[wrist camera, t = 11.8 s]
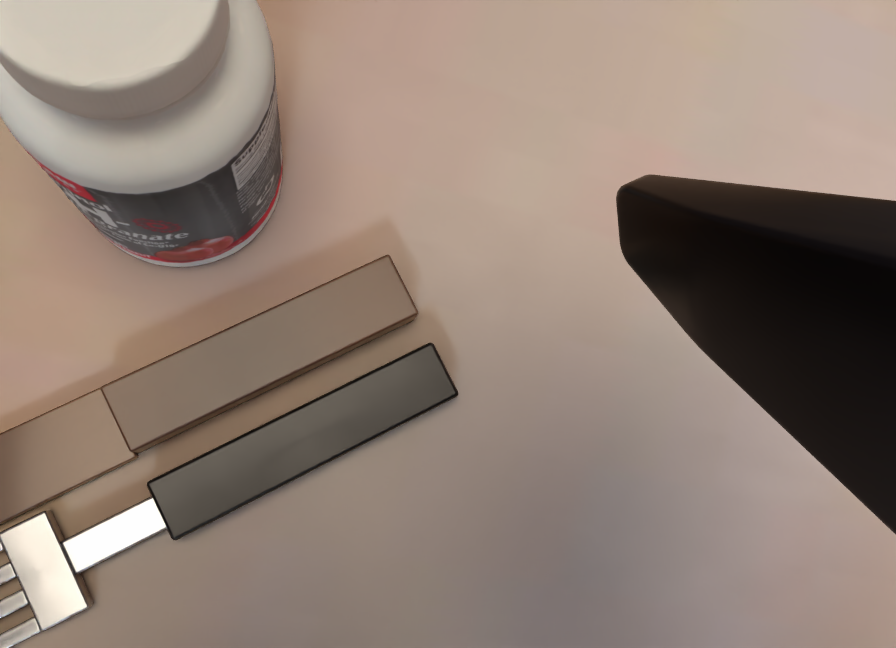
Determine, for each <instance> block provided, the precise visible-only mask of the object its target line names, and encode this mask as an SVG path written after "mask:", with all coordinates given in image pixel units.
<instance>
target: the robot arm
mask: <svg viewBox="0 0 896 648" xmlns="http://www.w3.org/2000/svg"><path fill="white" fill-rule="evenodd" d="M616 203H617V215H618V226H619V238H620V246H621V250H622V253H623V255H624V257H625V259H626V261H627V262H628V264H629V265H630V266H631V268H632V269H633V270H634V271H635V272H636V273H637V275H638V276H639V277H640V278H641V279H642V281H643V282H644V283H645V284H646V285H647V287H648V288H649V289H650V290H651V291H652V293H653V294H654V295H655V296H656V297H657V299H658V300H659V301H660V302H661V303H662V305H663V306H664V307H665V308H666V309H667V311H668V312H669V313H670V314H671V315H672V317H673V318H674V319H675V320H676V321H677V323H678V324H679V325H680V326H681V327H682V328H683V330H684V331H685V332H686V333H687V334H688V335H689V337H690V338H691V339H692V340H693V341H694V342H695V343H696V344H697V346H698V347H699V348H700V349H701V350H702V351H703V352H704V353H705V354H706V355H707V356H708V357H709V358H710V359H711V360H712V361H714V362H715V363H716V364H717V365H718V366H719V367H720V368H721V369H722V370H723V371H724V372H725V373H726V374H727V375H728V376H729V377H730V378H731V379H733V380H734V381H735V382H736V383H737V384H738V385H739V386H740V387H741V388H742V389H743V390H744V391H745V392H746V393H747V394H748V395H749V396H750V397H751V398H753V399H754V400H755V401H756V402H757V403H758V404H759V405H760V406H761V407H762V408H763V409H764V410H765V411H766V412H767V413H768V414H769V415H770V416H772V417H773V418H774V419H775V420H776V421H777V422H778V423H779V424H780V425H781V426H782V427H783V428H784V429H785V430H786V431H787V432H788V433H789V434H790V435H792V436H793V437H794V438H795V439H796V440H797V441H798V442H799V443H800V444H801V445H802V446H803V447H804V448H805V449H806V450H807V451H808V452H809V453H811V454H812V455H813V456H814V457H815V458H816V459H817V460H818V461H819V462H820V463H821V464H822V465H823V466H824V467H825V468H826V469H827V470H828V471H829V472H831V473H832V474H833V475H834V476H835V477H836V478H837V479H838V480H839V481H840V482H841V483H842V484H843V485H844V486H845V487H846V488H847V489H848V490H849V491H851V492H852V493H853V494H854V495H855V496H856V497H857V498H858V499H859V500H860V501H861V502H862V503H863V504H864V505H865V506H866V507H867V508H868V509H870V510H871V511H872V512H873V513H874V514H875V515H876V516H877V517H878V518H879V519H880V520H881V521H882V522H883V523H884V524H885V525H886V526H887V527H888V528H890V529H891V530H892V531H893V532H894V533H895V534H896V201H891V200H882V199H873V198H863V197H854V196H845V195H836V194H826V193H817V192H808V191H799V190H789V189H780V188H771V187H762V186H752V185H743V184H734V183H725V182H716V181H706V180H697V179H688V178H679V177H669V176H660V175H645V176H643V177H640V178H638V179H636V180H634V181H632V182H629V183H627V184H625V185H623V186H621V188H620V189H619V190H618V192H617V196H616Z"/></svg>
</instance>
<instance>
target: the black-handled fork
mask: <svg viewBox="0 0 896 648" xmlns="http://www.w3.org/2000/svg"><path fill="white" fill-rule="evenodd" d="M457 396H458V391H457V389H456V387H455V385H454V383H453V381H452V379H451V377H450V375H449V373H448V371H447V369H446V367H445V365H444V363H443V362H442V360H441V358H440V356H439V354H438V352H437V350H436V348H435V346H434V344H433V343H428V344H426V345H424V346H422V347H420V348H418V349H416V350H414V351H412V352H410V353H408V354H405V355H403V356H401V357H399V358H397V359H395V360H393V361H391V362H389V363H387V364H385V365H383V366H381V367H379V368H377V369H375V370H373V371H371V372H369V373H367V374H365V375H363V376H361V377H359V378H357V379H355V380H353V381H351V382H349V383H347V384H345V385H343V386H341V387H338V388H336V389H334V390H332V391H330V392H328V393H326V394H324V395H322V396H320V397H318V398H316V399H314V400H312V401H310V402H308V403H306V404H304V405H302V406H300V407H298V408H296V409H294V410H292V411H290V412H288V413H286V414H284V415H282V416H280V417H278V418H276V419H273V420H271V421H269V422H267V423H265V424H263V425H261V426H259V427H257V428H255V429H253V430H251V431H249V432H247V433H245V434H243V435H241V436H239V437H237V438H235V439H233V440H231V441H229V442H227V443H225V444H223V445H221V446H219V447H217V448H215V449H213V450H211V451H209V452H206V453H204V454H202V455H200V456H198V457H196V458H194V459H192V460H190V461H188V462H186V463H184V464H182V465H180V466H178V467H176V468H174V469H172V470H170V471H168V472H166V473H164V474H162V475H160V476H158V477H156V478H154V479H152V480H150V481H148V482H147V487H148V489H149V491H150V494H151V497H149V498H147V499H145V500H143V501H141V502H139V503H137V504H135V505H133V506H131V507H129V508H127V509H125V510H123V511H121V512H119V513H117V514H115V515H113V516H111V517H109V518H107V519H105V520H103V521H101V522H99V523H97V524H95V525H93V526H91V527H89V528H87V529H85V530H83V531H81V532H79V533H77V534H75V535H73V536H71V537H69V538H67V539H65V540H64V538H63V535H62V533H61V531H60V529H59V527H58V524H57V522H56V520H55V518H54V516H53V514H52V512H51V511H50V510H49V511H43V512H41V513H39V514H37V515H35V516H33V517H31V518H29V519H27V520H24V521H22V522H20V523H18V524H16V525H14V526H12V527H10V528H8V529H6V530H4V531H2V532H0V553H1V552H3V551H5V552H6V554H7V556H8V559H9V561H10V562H9V563H7V564H5V565H3V566H1V567H0V586H1V585H3V584H5V583H7V582H9V581H11V580H13V579H15V578H17V579H18V581H19V583H20V585H21V587H22V589H21V590H19V591H17V592H15V593H13V594H12V595H10V596H8V597H6V598H4V599H2V600H0V619H1V618H3V617H5V616H7V615H9V614H11V613H13V612H15V611H17V610H19V609H21V608H23V607H25V606H27V605H30V607H31V609H32V612H33V614H34V617H32V618H31V619H29V620H27V621H25V622H23V623H21V624H19V625H17V626H15V627H13V628H11V629H9V630H7V631H5V632H3V633H1V634H0V648H11V647H13V646H15V645H17V644H19V643H21V642H23V641H25V640H26V639H28V638H30V637H32V636H34V635H36V634H38V633H40V632H42V631H46V630H48V629H50V628H52V627H54V626H56V625H57V624H59V623H61V622H63V621H65V620H67V619H69V618H71V617H73V616H75V615H77V614H79V613H81V612H83V611H84V610H86V609H88V608H90V607H92V606H93V601H92V598H91V596H90V594H89V592H88V590H87V588H86V585H85V583H84V581H83V579H82V577H81V574H80V573H82V572H84V571H86V570H88V569H90V568H92V567H94V566H96V565H98V564H100V563H102V562H104V561H106V560H108V559H110V558H112V557H113V556H115V555H117V554H119V553H121V552H123V551H125V550H127V549H129V548H131V547H133V546H135V545H137V544H139V543H141V542H143V541H145V540H147V539H149V538H151V537H153V536H155V535H157V534H159V533H161V532H163V531H165V530H168V532H169V534H170V536H171V538H172V539H173V540H178V539H180V538H181V537H183V536H185V535H187V534H189V533H191V532H193V531H195V530H197V529H199V528H201V527H203V526H205V525H207V524H209V523H211V522H213V521H215V520H217V519H219V518H221V517H223V516H224V515H226V514H228V513H230V512H232V511H234V510H236V509H238V508H240V507H242V506H244V505H246V504H248V503H250V502H252V501H254V500H256V499H258V498H260V497H262V496H264V495H265V494H267V493H269V492H271V491H273V490H275V489H277V488H279V487H281V486H283V485H285V484H287V483H289V482H291V481H293V480H295V479H297V478H299V477H301V476H303V475H305V474H306V473H308V472H310V471H312V470H314V469H316V468H318V467H320V466H322V465H324V464H326V463H328V462H330V461H332V460H334V459H336V458H338V457H340V456H342V455H344V454H346V453H348V452H349V451H351V450H353V449H355V448H357V447H359V446H361V445H363V444H365V443H367V442H369V441H371V440H373V439H375V438H377V437H379V436H381V435H383V434H385V433H387V432H389V431H390V430H392V429H394V428H396V427H398V426H400V425H402V424H404V423H406V422H408V421H410V420H412V419H414V418H416V417H418V416H420V415H422V414H424V413H426V412H428V411H430V410H431V409H433V408H435V407H437V406H439V405H441V404H443V403H445V402H447V401H449V400H451V399H453V398H455V397H457Z"/></svg>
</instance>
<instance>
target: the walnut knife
mask: <svg viewBox="0 0 896 648" xmlns="http://www.w3.org/2000/svg"><path fill="white" fill-rule="evenodd" d="M417 314H418V310H417V308H416V306H415V304H414V303H413V301H412V299H411V297H410V295H409V293H408V291H407V289H406V287H405V285H404V283H403V281H402V279H401V277H400V275H399V273H398V271H397V269H396V267H395V265H394V263H393V261H392V259H391V257H390V256H389V255H385V256H383V257H381V258H379V259H377V260H374V261H372V262H370V263H368V264H366V265H364V266H361V267H359V268H357V269H355V270H353V271H351V272H348V273H346V274H344V275H342V276H340V277H338V278H335V279H333V280H331V281H329V282H327V283H325V284H322V285H320V286H318V287H316V288H314V289H312V290H309V291H307V292H305V293H303V294H301V295H299V296H296V297H294V298H292V299H290V300H288V301H286V302H283V303H281V304H279V305H277V306H275V307H273V308H270V309H268V310H266V311H264V312H262V313H260V314H257V315H255V316H253V317H251V318H249V319H247V320H244V321H242V322H240V323H238V324H236V325H234V326H231V327H229V328H227V329H225V330H223V331H221V332H218V333H216V334H214V335H212V336H210V337H208V338H205V339H203V340H201V341H199V342H197V343H195V344H192V345H190V346H188V347H186V348H184V349H182V350H179V351H177V352H175V353H173V354H171V355H169V356H166V357H164V358H162V359H160V360H158V361H156V362H153V363H151V364H149V365H147V366H145V367H143V368H140V369H138V370H136V371H134V372H132V373H130V374H127V375H125V376H123V377H121V378H119V379H117V380H114V381H112V382H110V383H108V384H106V385H104V386H102V387H100V388H98V389H96V390H94V391H92V392H90V393H87V394H85V395H83V396H81V397H79V398H77V399H74V400H72V401H70V402H68V403H66V404H64V405H61V406H59V407H57V408H55V409H53V410H51V411H48V412H46V413H44V414H42V415H40V416H38V417H35V418H33V419H31V420H29V421H27V422H25V423H22V424H20V425H18V426H16V427H14V428H12V429H9V430H7V431H5V432H3V433H1V434H0V525H1V524H3V523H5V522H7V521H9V520H11V519H13V518H15V517H17V516H19V515H21V514H23V513H25V512H27V511H30V510H32V509H34V508H36V507H38V506H40V505H42V504H44V503H46V502H48V501H50V500H52V499H54V498H56V497H58V496H60V495H63V494H65V493H67V492H69V491H71V490H73V489H75V488H77V487H79V486H81V485H83V484H85V483H87V482H89V481H91V480H93V479H96V478H98V477H100V476H102V475H104V474H106V473H108V472H110V471H112V470H114V469H116V468H118V467H120V466H122V465H124V464H126V463H129V462H131V461H133V460H135V459H137V458H138V457H139V455H138V453H140V452H142V451H144V450H146V449H148V448H150V447H152V446H155V445H157V444H159V443H161V442H163V441H165V440H167V439H169V438H171V437H173V436H175V435H177V434H179V433H181V432H183V431H186V430H188V429H190V428H192V427H194V426H196V425H198V424H200V423H202V422H204V421H206V420H208V419H210V418H212V417H214V416H217V415H219V414H221V413H223V412H225V411H227V410H229V409H231V408H233V407H235V406H237V405H239V404H241V403H243V402H245V401H248V400H250V399H252V398H254V397H256V396H258V395H260V394H262V393H264V392H266V391H268V390H270V389H272V388H274V387H276V386H279V385H281V384H283V383H285V382H287V381H289V380H291V379H293V378H295V377H297V376H299V375H301V374H303V373H305V372H307V371H310V370H312V369H314V368H316V367H318V366H320V365H322V364H324V363H326V362H328V361H330V360H332V359H334V358H336V357H338V356H341V355H343V354H345V353H347V352H349V351H351V350H353V349H355V348H357V347H359V346H361V345H363V344H365V343H367V342H369V341H372V340H374V339H376V338H378V337H380V336H382V335H384V334H386V333H388V332H390V331H392V330H394V329H396V328H398V327H400V326H403V325H405V324H407V323H409V322H411V321H413V320H414V319H415V317H416V316H417Z"/></svg>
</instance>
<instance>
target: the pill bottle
mask: <svg viewBox="0 0 896 648" xmlns="http://www.w3.org/2000/svg"><path fill="white" fill-rule="evenodd" d="M0 116H1V118H2V119H3V121H4V122H5V124H6V126H7V127H8V129H9V131H10V132H11V133H12V134H13V136H14V137H15V138H16V140H17V141H18V142H19V143H20V144H21V145H22V146H23V148H24V149H25V150H26V151H27V152H28V153H29V154H30V155H31V156H32V157H33V159H34V160H35V161H36V162H37V163H38V164H39V165H40V166H41V167H42V169H43V170H44V171H45V172H46V173H47V174H48V175H49V176H50V178H51V179H52V180H53V181H54V182H55V183H56V184H57V185H58V186H59V187H60V188H61V189H62V190H63V192H64V193H65V194H66V196H67V197H68V199H70V200H71V201H72V202H73V203H74V204H75V206H76V207H77V208H78V209H79V210H80V211H81V212H82V213H83V215H84V216H85V217H86V218H87V219H88V220H89V221H90V222H91V223H92V224H93V225H94V226H95V227H96V228H97V230H98V231H99V232H100V233H101V234H102V235H103V236H104V237H105V238H106V239H108V240H109V241H110V242H111V243H113V244H114V245H115V246H116V247H118V248H119V249H121V250H122V251H124V252H126V253H128V254H129V255H131V256H134V257H136V258H138V259H141V260H143V261H146V262H149V263H153V264H158V265H163V266H172V267H190V266H198V265H202V264H207V263H211V262H214V261H217V260H220V259H222V258H225V257H227V256H229V255H231V254H233V253H235V252H237V251H238V250H240V249H241V248H243V247H244V246H245V245H247V244H248V243H249V242H250V241H252V240H253V239H254V237H255V236H256V235H257V234H258V233H259V232H260V231H261V230H262V229H263V227H264V226H265V224H266V223H267V221H268V220H269V219H270V217H271V215H272V213H273V211H274V209H275V207H276V205H277V202H278V199H279V195H280V190H281V184H282V175H283V165H282V164H283V161H282V160H283V155H282V144H281V136H280V124H279V115H278V104H277V91H276V78H275V62H274V52H273V44H272V40H271V37H270V34H269V30H268V27H267V24H266V21H265V17H264V15H263V13H262V11H261V9H260V7H259V5H258V3H257V1H256V0H0Z"/></svg>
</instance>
